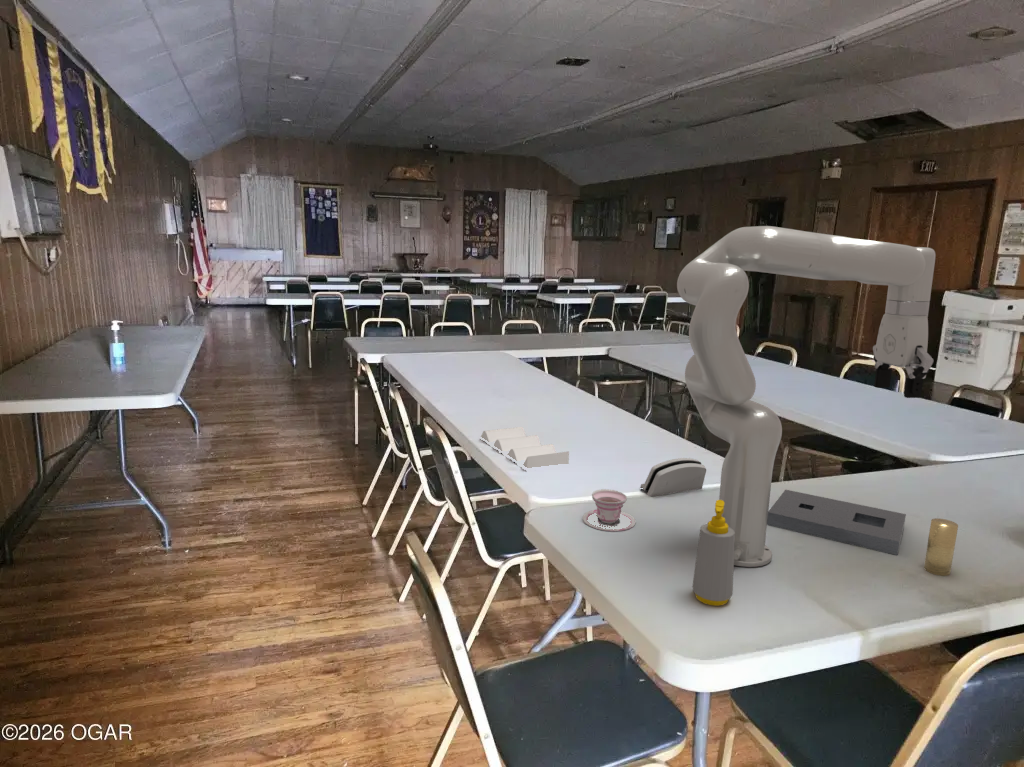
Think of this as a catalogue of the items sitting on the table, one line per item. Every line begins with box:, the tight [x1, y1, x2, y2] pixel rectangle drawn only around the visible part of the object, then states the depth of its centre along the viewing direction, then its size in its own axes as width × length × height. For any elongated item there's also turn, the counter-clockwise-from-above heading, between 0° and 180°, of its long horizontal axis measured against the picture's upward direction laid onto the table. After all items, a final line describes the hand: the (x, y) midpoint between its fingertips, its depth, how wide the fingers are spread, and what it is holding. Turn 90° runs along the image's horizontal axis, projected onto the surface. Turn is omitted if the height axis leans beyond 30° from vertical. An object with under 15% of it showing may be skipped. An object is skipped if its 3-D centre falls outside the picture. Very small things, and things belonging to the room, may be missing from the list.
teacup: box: [582, 488, 637, 532], centre depth 150 cm, size 12×12×6 cm
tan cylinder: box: [923, 517, 959, 577], centre depth 129 cm, size 4×4×10 cm
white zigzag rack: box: [480, 426, 570, 468], centre depth 200 cm, size 13×35×5 cm, turn 25°
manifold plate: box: [767, 489, 907, 556], centre depth 151 cm, size 18×26×3 cm
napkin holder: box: [639, 457, 707, 497], centre depth 170 cm, size 17×5×10 cm, turn 114°
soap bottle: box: [691, 499, 735, 607], centre depth 116 cm, size 7×7×18 cm
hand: (896, 392), depth 137 cm, fingers open, 9 cm apart
